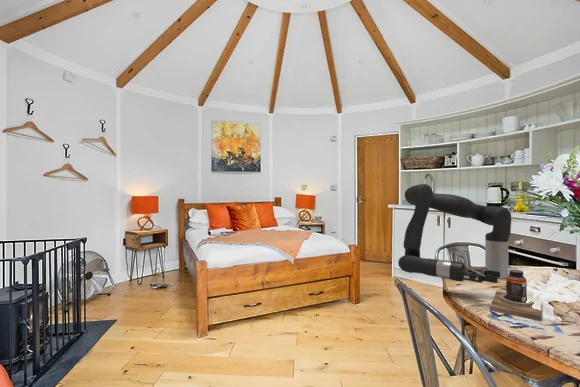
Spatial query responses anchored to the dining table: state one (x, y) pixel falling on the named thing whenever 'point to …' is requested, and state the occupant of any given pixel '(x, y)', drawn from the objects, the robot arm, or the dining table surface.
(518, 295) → the supplement bottle
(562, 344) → the dining table surface
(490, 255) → the robot arm
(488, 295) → the dining table surface
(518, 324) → the dining table surface
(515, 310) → the walnut board
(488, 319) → the dining table surface
